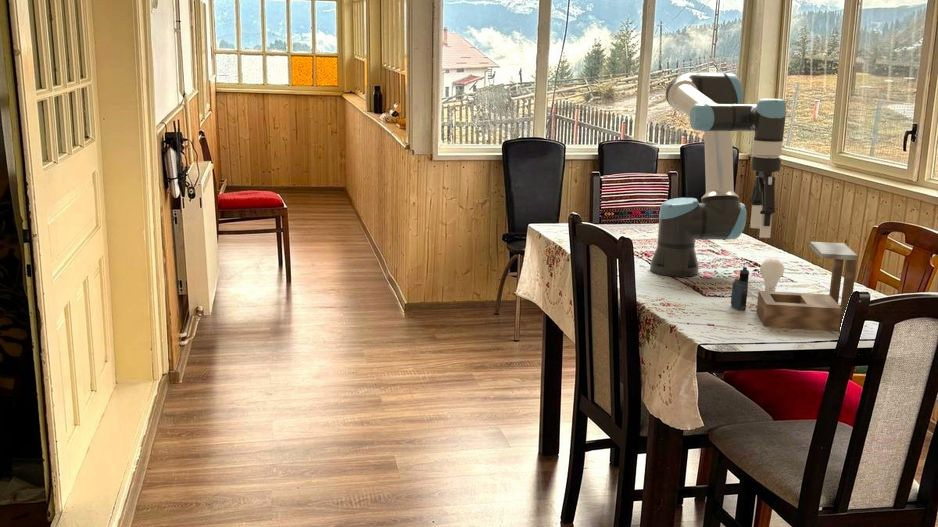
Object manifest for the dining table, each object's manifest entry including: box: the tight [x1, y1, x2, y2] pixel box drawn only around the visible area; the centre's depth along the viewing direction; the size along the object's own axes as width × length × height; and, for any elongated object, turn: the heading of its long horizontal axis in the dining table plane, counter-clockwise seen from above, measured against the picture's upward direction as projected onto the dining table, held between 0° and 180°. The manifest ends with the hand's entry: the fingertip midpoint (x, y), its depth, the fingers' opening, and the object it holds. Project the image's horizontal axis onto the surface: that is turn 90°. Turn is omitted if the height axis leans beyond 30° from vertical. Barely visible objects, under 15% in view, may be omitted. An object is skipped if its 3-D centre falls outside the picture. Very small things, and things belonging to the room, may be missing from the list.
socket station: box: [756, 241, 859, 332], centre depth 227 cm, size 20×14×20 cm
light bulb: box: [759, 257, 785, 292], centre depth 253 cm, size 7×7×11 cm
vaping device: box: [730, 266, 750, 311], centre depth 239 cm, size 3×5×12 cm, turn 15°
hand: (759, 232), depth 241 cm, fingers open, 13 cm apart
